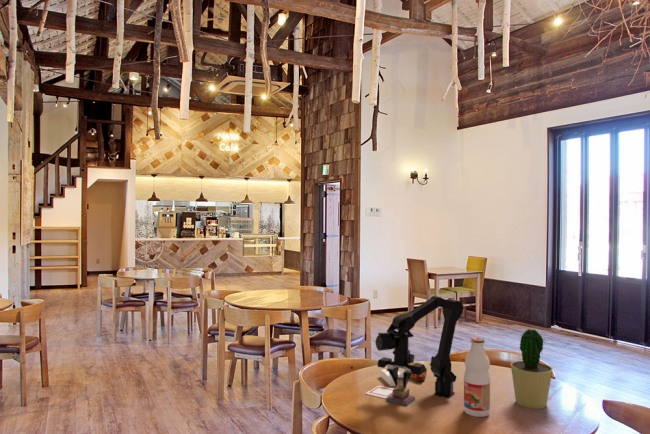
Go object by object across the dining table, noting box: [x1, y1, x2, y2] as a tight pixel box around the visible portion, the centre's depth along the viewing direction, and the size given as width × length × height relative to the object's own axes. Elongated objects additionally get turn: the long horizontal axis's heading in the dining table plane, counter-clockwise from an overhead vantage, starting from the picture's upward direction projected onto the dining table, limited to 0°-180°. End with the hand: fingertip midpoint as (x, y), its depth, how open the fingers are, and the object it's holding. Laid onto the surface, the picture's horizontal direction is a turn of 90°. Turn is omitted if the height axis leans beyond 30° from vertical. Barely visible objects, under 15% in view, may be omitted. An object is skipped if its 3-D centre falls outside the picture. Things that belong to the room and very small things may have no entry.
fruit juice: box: [463, 336, 491, 418], centre depth 189 cm, size 9×9×28 cm
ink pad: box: [385, 394, 416, 407], centre depth 201 cm, size 9×8×2 cm
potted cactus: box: [510, 328, 553, 410], centre depth 199 cm, size 15×15×30 cm
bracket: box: [380, 368, 406, 387], centre depth 225 cm, size 13×7×8 cm, turn 13°
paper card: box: [365, 385, 394, 400], centre depth 210 cm, size 10×12×1 cm
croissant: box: [408, 361, 428, 382], centre depth 233 cm, size 21×10×8 cm, turn 6°
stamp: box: [392, 377, 410, 399], centre depth 201 cm, size 5×5×7 cm
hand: (400, 387), depth 201 cm, fingers closed on stamp, 3 cm apart
